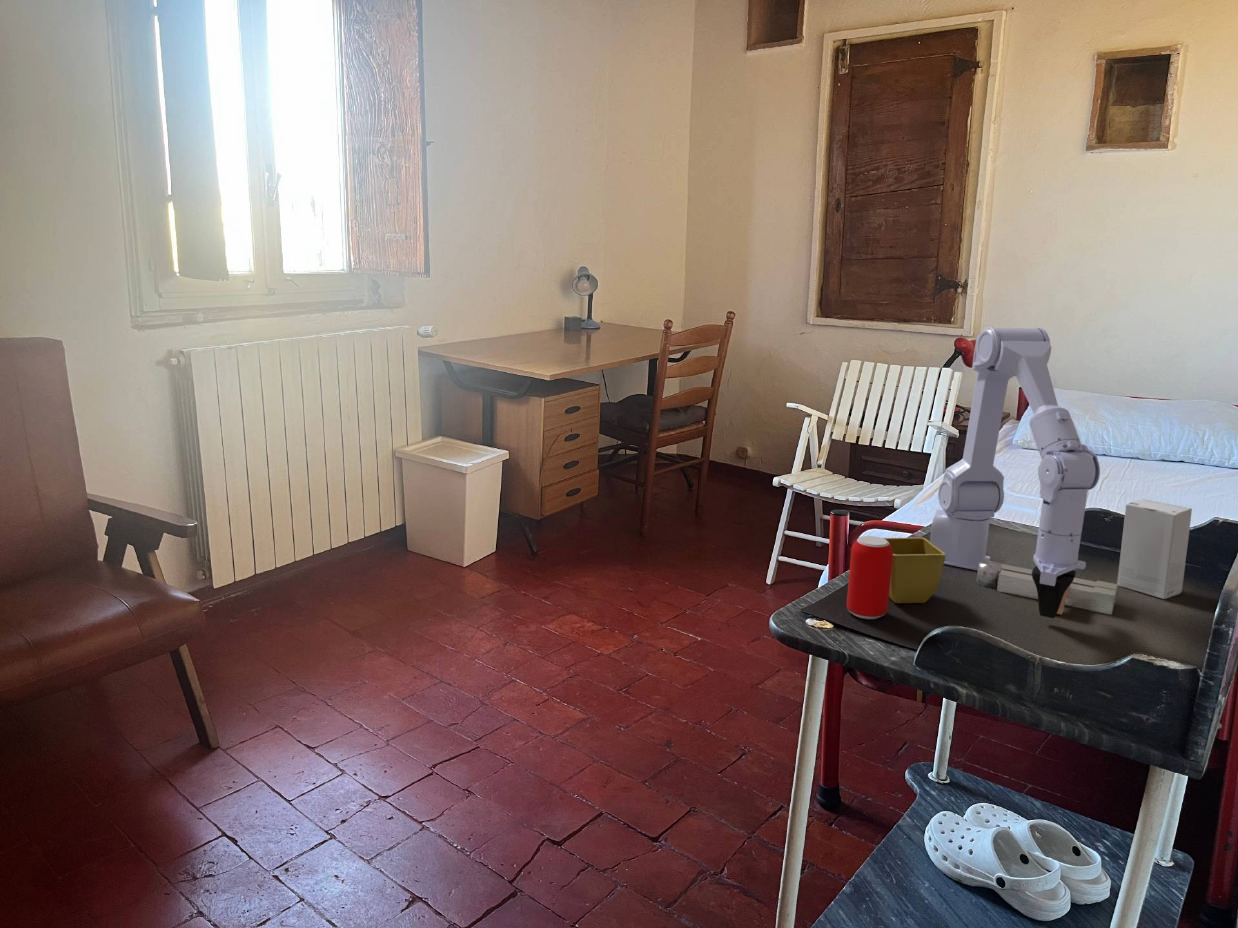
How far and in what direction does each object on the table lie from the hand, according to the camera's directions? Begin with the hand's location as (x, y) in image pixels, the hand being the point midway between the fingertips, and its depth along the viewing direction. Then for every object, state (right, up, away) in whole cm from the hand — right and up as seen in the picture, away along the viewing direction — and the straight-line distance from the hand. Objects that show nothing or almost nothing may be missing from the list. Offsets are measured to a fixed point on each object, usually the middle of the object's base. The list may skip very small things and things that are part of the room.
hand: (1047, 615), depth 138 cm
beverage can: (-27, 0, +3) cm, 27 cm away
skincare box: (+24, +2, +15) cm, 29 cm away
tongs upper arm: (+5, +2, +13) cm, 14 cm away
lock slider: (+5, +1, +8) cm, 9 cm away
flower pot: (-19, +1, +10) cm, 21 cm away
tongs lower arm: (+6, +1, +10) cm, 11 cm away
